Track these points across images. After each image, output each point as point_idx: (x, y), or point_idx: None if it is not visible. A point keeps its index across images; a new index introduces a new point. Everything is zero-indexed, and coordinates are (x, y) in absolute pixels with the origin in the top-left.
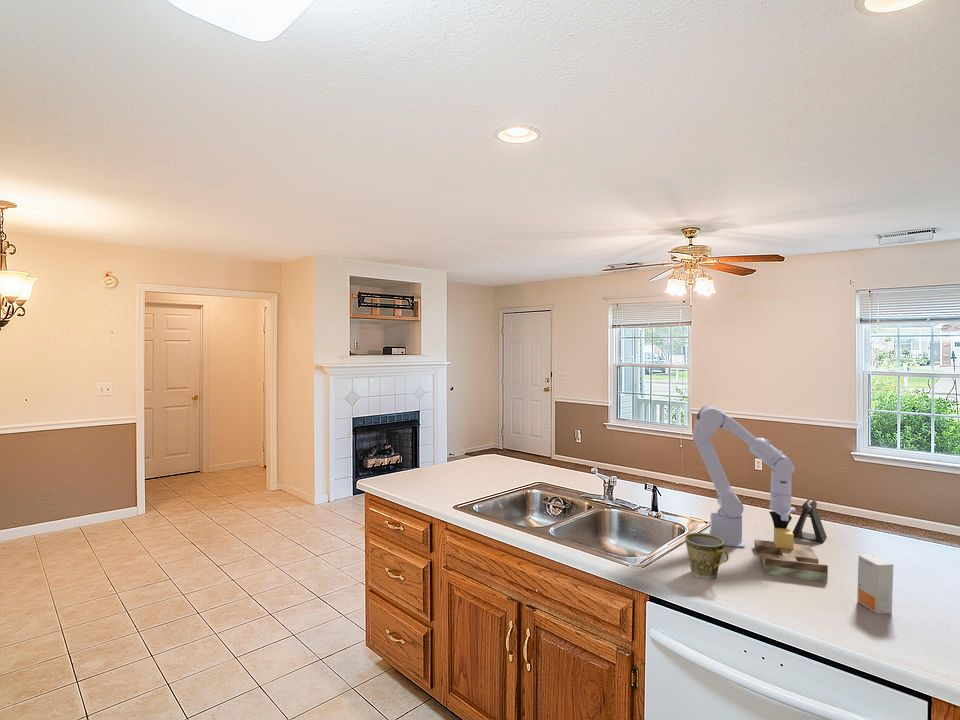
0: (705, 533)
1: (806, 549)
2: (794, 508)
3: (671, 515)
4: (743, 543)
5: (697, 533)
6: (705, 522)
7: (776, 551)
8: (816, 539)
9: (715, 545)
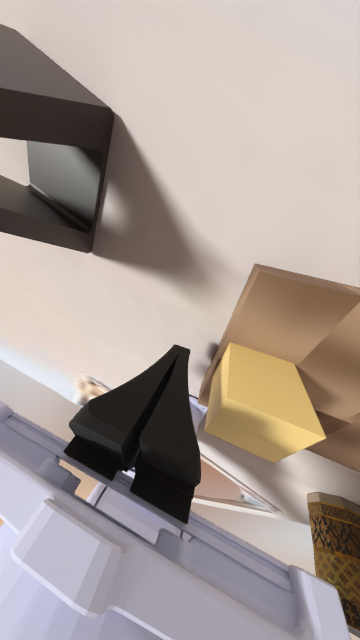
0: None
1: (313, 316)
2: (42, 580)
3: None
4: (192, 400)
5: None
6: (94, 384)
7: None
8: (99, 148)
9: (358, 587)
